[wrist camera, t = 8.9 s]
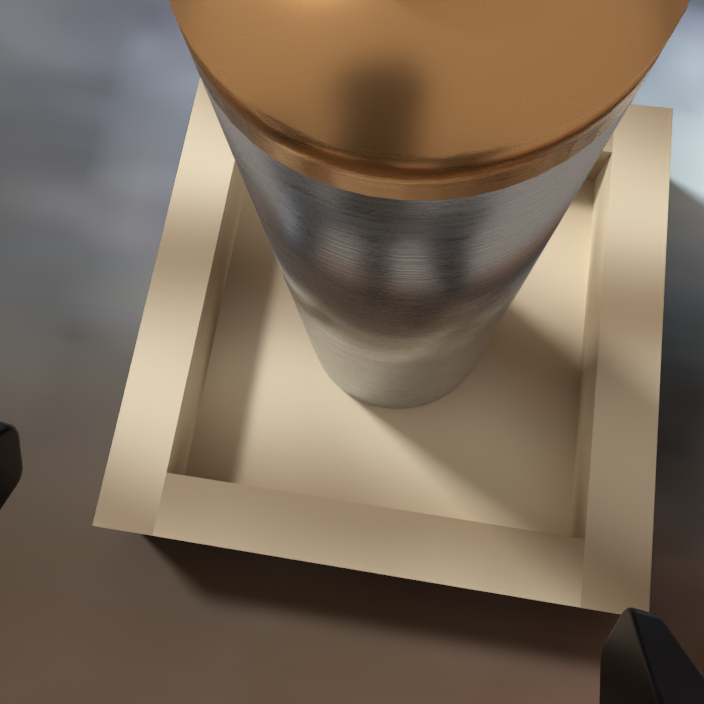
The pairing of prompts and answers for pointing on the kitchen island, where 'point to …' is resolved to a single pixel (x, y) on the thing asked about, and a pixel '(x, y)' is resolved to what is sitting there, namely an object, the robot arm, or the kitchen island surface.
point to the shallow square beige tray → (413, 423)
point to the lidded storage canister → (416, 158)
